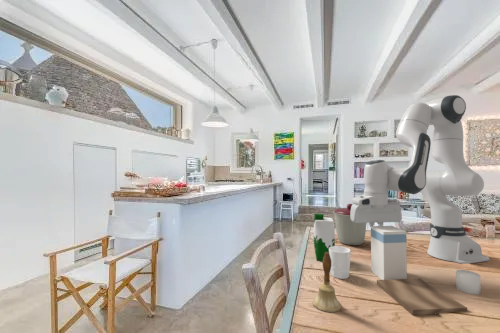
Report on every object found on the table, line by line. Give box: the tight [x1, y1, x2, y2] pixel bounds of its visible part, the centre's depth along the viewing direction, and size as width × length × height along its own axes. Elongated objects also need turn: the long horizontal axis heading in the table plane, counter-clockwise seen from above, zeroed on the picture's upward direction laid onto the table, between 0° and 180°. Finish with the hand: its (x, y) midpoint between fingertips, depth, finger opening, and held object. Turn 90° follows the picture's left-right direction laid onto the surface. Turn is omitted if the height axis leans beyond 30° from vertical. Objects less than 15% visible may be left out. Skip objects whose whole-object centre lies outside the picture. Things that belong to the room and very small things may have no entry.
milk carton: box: [313, 213, 336, 262], centre depth 111 cm, size 9×9×20 cm
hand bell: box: [312, 252, 342, 313], centre depth 75 cm, size 8×8×16 cm
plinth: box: [376, 277, 468, 316], centre depth 78 cm, size 16×18×2 cm
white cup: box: [329, 245, 351, 280], centre depth 94 cm, size 8×8×10 cm
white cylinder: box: [455, 269, 482, 296], centre depth 81 cm, size 6×6×6 cm
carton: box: [370, 225, 408, 280], centre depth 93 cm, size 9×9×18 cm
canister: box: [332, 203, 367, 246], centre depth 133 cm, size 18×18×21 cm
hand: (376, 232), depth 101 cm, fingers closed
